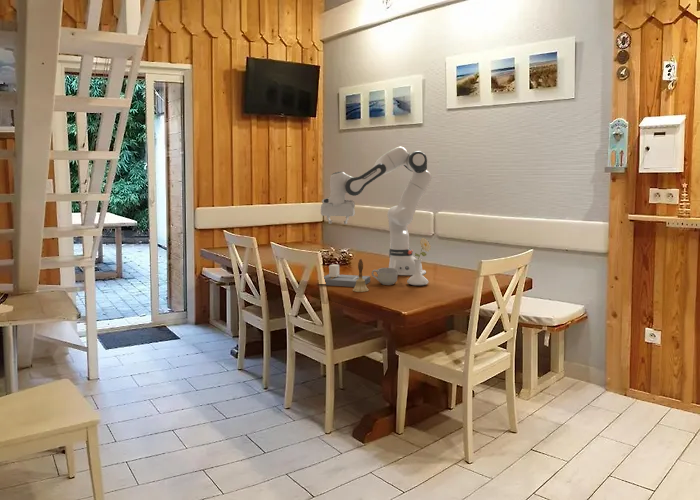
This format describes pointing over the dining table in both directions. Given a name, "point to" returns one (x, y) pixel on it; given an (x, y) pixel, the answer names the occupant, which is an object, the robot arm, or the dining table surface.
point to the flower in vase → (417, 277)
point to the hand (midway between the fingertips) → (337, 223)
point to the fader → (333, 270)
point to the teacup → (386, 275)
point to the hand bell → (360, 280)
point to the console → (344, 280)
